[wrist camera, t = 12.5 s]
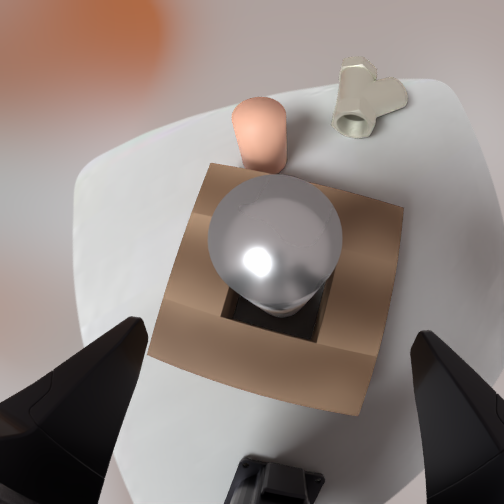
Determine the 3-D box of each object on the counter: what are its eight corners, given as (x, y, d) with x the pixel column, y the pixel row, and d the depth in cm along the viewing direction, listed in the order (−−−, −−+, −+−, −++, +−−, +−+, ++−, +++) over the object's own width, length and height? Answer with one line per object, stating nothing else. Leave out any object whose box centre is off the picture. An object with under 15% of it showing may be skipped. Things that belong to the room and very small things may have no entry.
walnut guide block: (344, 400, 18) (357, 416, 14) (171, 350, 20) (146, 354, 16) (385, 228, 20) (403, 207, 17) (222, 188, 23) (210, 162, 19)
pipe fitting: (398, 98, 24) (338, 77, 25) (411, 73, 20) (345, 50, 21) (399, 156, 23) (328, 133, 23) (416, 132, 19) (337, 104, 19)
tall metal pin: (312, 310, 20) (358, 284, 7) (262, 322, 20) (220, 316, 7) (301, 261, 21) (320, 163, 8) (251, 272, 21) (199, 191, 8)
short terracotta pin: (280, 181, 22) (278, 140, 17) (237, 172, 23) (224, 131, 18) (290, 145, 23) (290, 101, 18) (249, 138, 24) (240, 94, 18)
